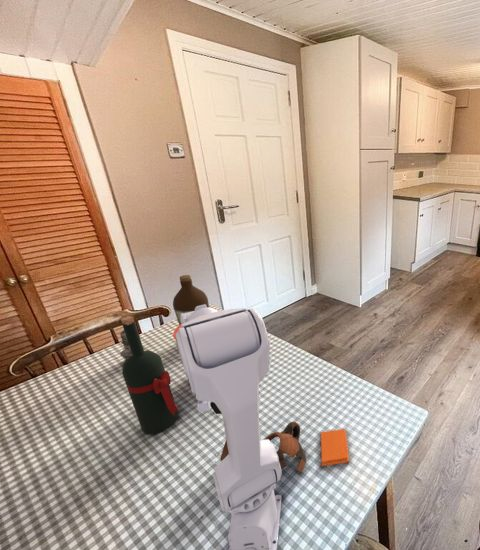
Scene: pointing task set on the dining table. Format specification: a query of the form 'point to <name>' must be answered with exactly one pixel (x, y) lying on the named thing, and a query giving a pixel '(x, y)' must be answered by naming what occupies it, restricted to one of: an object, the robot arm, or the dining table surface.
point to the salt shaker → (125, 346)
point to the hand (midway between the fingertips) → (221, 411)
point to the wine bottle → (148, 384)
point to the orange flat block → (334, 447)
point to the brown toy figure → (289, 445)
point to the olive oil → (188, 297)
